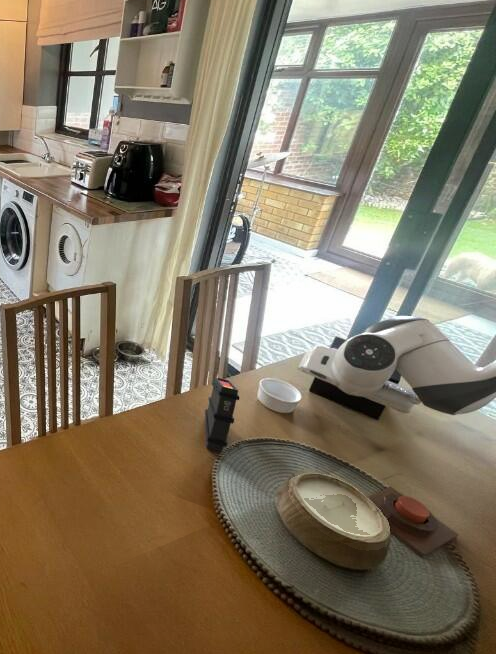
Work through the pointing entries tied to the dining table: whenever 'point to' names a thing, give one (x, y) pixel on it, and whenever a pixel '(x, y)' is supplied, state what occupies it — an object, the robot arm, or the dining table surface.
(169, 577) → the dining table surface
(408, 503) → the button
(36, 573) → the dining table surface
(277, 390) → the ramekin
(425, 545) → the button block
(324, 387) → the console
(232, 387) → the black battery pack
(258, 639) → the dining table surface
